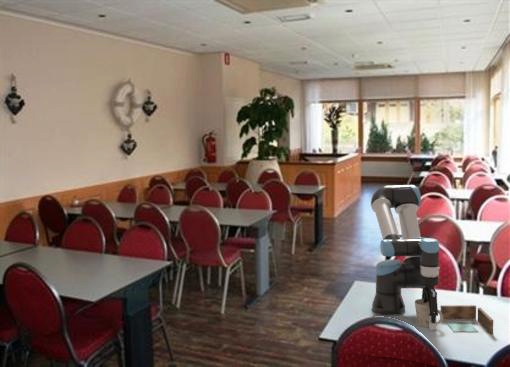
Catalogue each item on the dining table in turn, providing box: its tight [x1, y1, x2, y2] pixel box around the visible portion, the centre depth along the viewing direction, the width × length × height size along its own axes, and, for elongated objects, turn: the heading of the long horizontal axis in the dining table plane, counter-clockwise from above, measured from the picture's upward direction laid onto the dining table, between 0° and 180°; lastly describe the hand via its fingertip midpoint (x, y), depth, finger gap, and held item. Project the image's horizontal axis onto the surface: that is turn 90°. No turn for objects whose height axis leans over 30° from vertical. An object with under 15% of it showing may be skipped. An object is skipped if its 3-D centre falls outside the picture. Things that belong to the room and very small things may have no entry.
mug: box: [414, 298, 444, 328], centre depth 211 cm, size 8×13×10 cm, turn 45°
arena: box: [440, 304, 494, 335], centre depth 210 cm, size 16×17×6 cm
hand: (429, 324), depth 212 cm, fingers open, 10 cm apart
